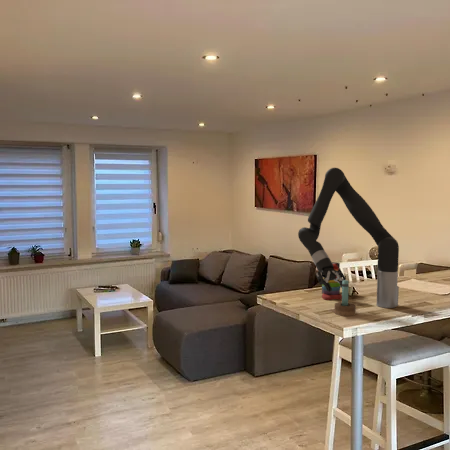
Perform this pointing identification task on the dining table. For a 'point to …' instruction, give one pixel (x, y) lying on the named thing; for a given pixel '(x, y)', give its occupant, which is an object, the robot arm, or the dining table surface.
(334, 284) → the stacking bear
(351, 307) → the brown thick ring
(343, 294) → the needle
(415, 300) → the dining table surface
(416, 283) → the dining table surface
